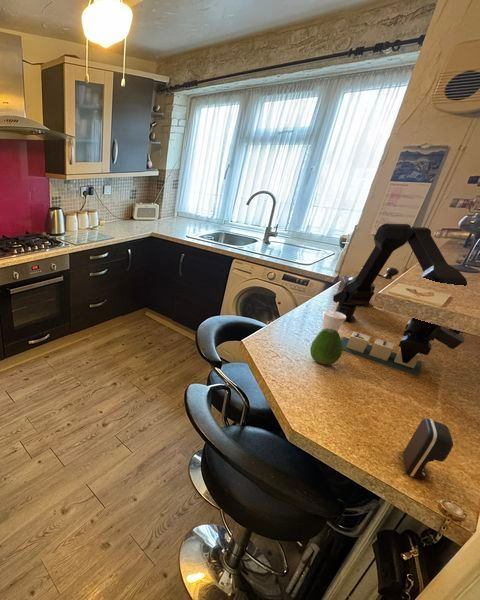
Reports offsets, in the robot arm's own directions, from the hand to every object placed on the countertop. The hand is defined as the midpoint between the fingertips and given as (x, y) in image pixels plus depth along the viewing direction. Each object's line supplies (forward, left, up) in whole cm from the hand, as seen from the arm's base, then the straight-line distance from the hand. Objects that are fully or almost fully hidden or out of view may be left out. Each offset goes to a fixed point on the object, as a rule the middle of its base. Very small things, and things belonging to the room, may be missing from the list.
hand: (405, 359), depth 99 cm
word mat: (0, -6, -2) cm, 7 cm away
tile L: (0, -12, -1) cm, 12 cm away
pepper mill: (-47, -19, -2) cm, 51 cm away
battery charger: (+47, +7, -2) cm, 48 cm away
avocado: (+18, -17, -2) cm, 25 cm away
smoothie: (0, -20, -2) cm, 21 cm away
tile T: (0, 0, -1) cm, 1 cm away
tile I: (0, -6, -1) cm, 6 cm away
